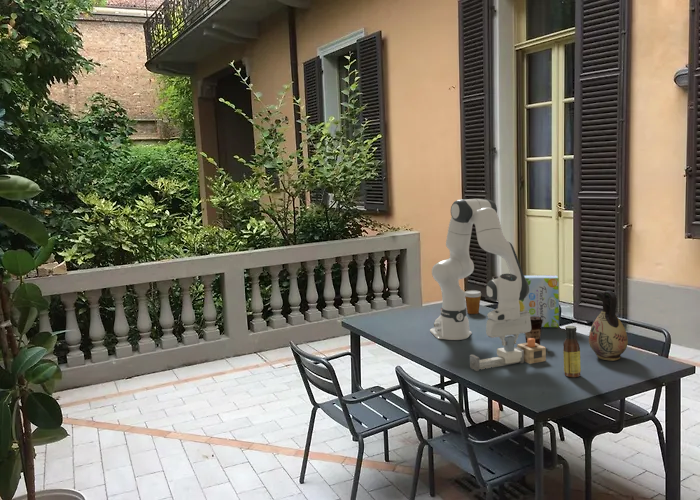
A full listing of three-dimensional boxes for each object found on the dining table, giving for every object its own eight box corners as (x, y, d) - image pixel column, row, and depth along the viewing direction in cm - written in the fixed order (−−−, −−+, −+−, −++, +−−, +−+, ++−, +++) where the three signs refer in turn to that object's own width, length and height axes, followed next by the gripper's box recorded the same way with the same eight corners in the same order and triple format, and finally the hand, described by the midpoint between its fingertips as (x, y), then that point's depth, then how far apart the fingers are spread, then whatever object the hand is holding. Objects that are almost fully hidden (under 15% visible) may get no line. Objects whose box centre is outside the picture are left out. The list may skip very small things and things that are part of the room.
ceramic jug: (582, 353, 268) (582, 286, 263) (616, 350, 269) (617, 284, 264) (600, 365, 251) (601, 294, 247) (636, 363, 252) (638, 292, 247)
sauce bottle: (583, 374, 242) (583, 326, 239) (576, 379, 237) (577, 330, 234) (566, 371, 246) (567, 323, 243) (560, 375, 242) (560, 327, 239)
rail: (470, 367, 256) (469, 354, 255) (516, 359, 263) (516, 347, 262) (476, 371, 251) (476, 358, 250) (523, 362, 258) (523, 350, 258)
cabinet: (517, 357, 266) (517, 344, 265) (532, 354, 268) (532, 341, 267) (530, 363, 257) (530, 350, 256) (545, 361, 259) (546, 347, 259)
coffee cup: (543, 348, 276) (543, 320, 275) (524, 347, 278) (524, 320, 276) (541, 342, 285) (541, 315, 283) (523, 342, 287) (523, 315, 285)
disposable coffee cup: (471, 309, 350) (471, 289, 348) (485, 312, 343) (484, 291, 341) (460, 313, 344) (460, 292, 342) (474, 315, 337) (474, 294, 335)
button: (525, 349, 263) (525, 338, 262) (532, 348, 264) (532, 337, 263) (530, 351, 260) (530, 340, 259) (536, 350, 261) (536, 339, 260)
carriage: (496, 358, 262) (496, 335, 260) (510, 356, 264) (510, 332, 262) (507, 364, 254) (507, 340, 252) (521, 361, 256) (521, 337, 255)
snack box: (558, 323, 315) (558, 274, 311) (559, 328, 306) (559, 278, 302) (514, 322, 320) (514, 274, 316) (514, 327, 312) (514, 277, 308)
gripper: (525, 308, 262) (525, 339, 264) (483, 314, 256) (484, 345, 258) (534, 311, 256) (534, 343, 258) (492, 317, 250) (492, 350, 252)
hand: (509, 344), depth 258 cm, fingers closed on carriage, 3 cm apart
